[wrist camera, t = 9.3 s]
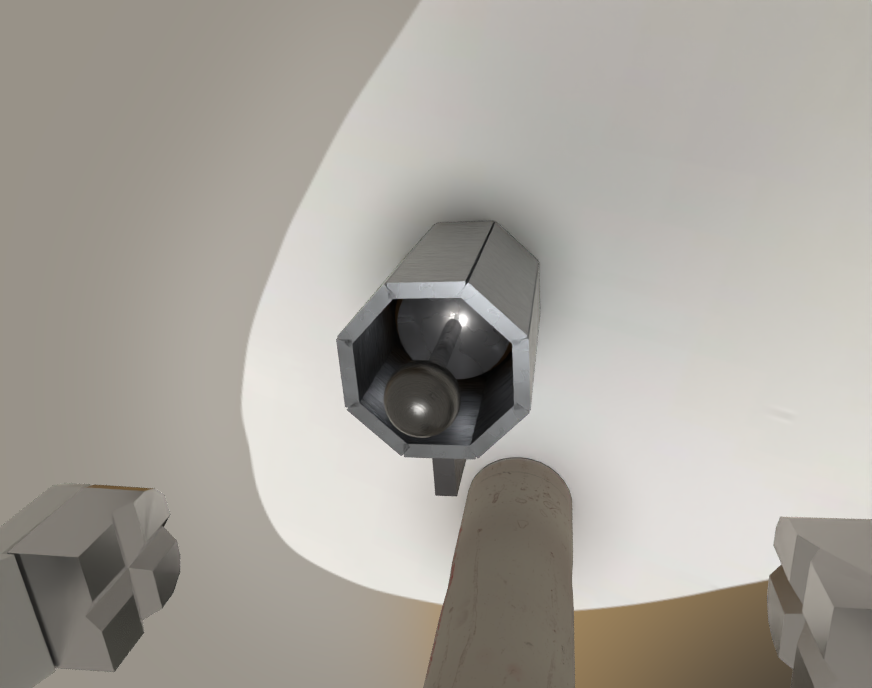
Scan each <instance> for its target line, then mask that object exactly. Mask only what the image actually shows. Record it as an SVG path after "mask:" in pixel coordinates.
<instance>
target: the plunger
mask: <svg viewBox="0 0 872 688" xmlns="http://www.w3.org/2000/svg"><path fill="white" fill-rule="evenodd" d="M397 321H398V332H399V336H400V340H401V342H402V345H403V347H404V349H405V350H406V352H407V353H408V355H409V356H410V357H411V358H412V360H413V361H411V362H408V363H406V364H404V365H402V366H401V367H399V368H398V369H397V370H396V371H394V373H393V374H392V375H391V376H390V378H389V380H388V382H387V384H386V386H385V390H384V397H383V400H384V407H385V411H386V414H387V416H388V418H389V419H390V421H391V422H392V424H393V425H394V426H395V427H396V428H397V429H398V430H400V431H401V432H403V433H405V434H407V435H409V436H413V437H418V438H426V437H432V436H435V435H438V434H440V433H442V432H443V431H445V430H446V429H447V428H449V427H450V425H451V424H452V423H453V422H454V421H455V419H456V417H457V415H458V413H459V410H460V406H461V391H460V387H459V384H458V382H457V380H456V379H466V378H472V377H475V376H478V375H480V374H482V373H484V372H486V371H488V370H489V369H491V368H492V367H493V366H494V365H496V363H497V362H498V361H499V360H500V359H501V358H502V356H503V355H504V353H505V351H506V349H507V347H508V344H509V340H507V339H506V338H505V337H504V336H503V335H502V334H501V333H500V332H499V331H497V330H496V329H495V328H494V327H493V326H492V325H491V324H490V323H489V322H487V321H486V320H485V319H484V318H483V317H482V316H481V315H480V314H479V313H477V312H476V311H475V310H474V309H473V308H472V307H471V306H470V305H469V304H467V303H466V302H465V301H464V300H463V299H462V298H409V299H403V300H402V303H401V305H400V308H399V312H398V320H397Z"/></svg>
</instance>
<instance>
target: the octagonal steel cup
mask: <svg viewBox="0 0 872 688" xmlns="http://www.w3.org/2000/svg"><path fill="white" fill-rule="evenodd" d="M409 298H462V299H463V300H464V301H465V302H466V303H467V304H469V305H470V306H471V307H472V308H473V309H474V310H475V311H476V312H477V313H479V314H480V315H481V316H482V317H483V318H484V319H485V320H486V321H487V322H489V323H490V324H491V325H492V326H493V327H494V328H495V329H496V330H497V331H499V332H500V333H501V334H502V335H503V336H504V337H505V338H506V339H507V340H509V344H508V347H507V349H506V351H505V353H504V355H503V356H502V358H501V359H500V360H499V361H498V362H497V363H496V365H494V366H493V367H492V368H491V369H489V370H488V371H486V372H484V373H482V374H480V375H478V376H475V377H472V378H466V379H456V380H457V382H458V384H459V387H460V391H461V406H460V410H459V413H458V415H457V417H456V419H455V421H454V422H453V423H452V424H451V425H450V427H449V428H447V429H446V430H445V431H443V432H442V433H440V434H438V435H435V436H432V437H426V438H418V437H413V436H409V435H407V434H405V433H403V432H401V431H400V430H398V429H397V428H396V427H395V426H394V425H393V424H392V422H391V421H390V419H389V418H388V416H387V414H386V411H385V407H384V400H383V397H384V390H385V386H386V384H387V382H388V380H389V378H390V376H391V375H392V374H393V373H394V371H396V370H397V369H398V368H399V367H401V366H402V365H404V364H406V363H408V362H411V361H413V360H412V358H411V357H410V356H409V355H408V353H407V352H406V350H405V349H404V347H403V345H402V342H401V340H400V336H399V332H398V321H397V320H398V312H399V308H400V305H401V303H402V300H403V299H409ZM539 322H540V284H539V263H538V260H537V259H536V258H535V257H534V256H533V255H532V254H531V253H530V252H528V251H527V250H526V249H525V248H524V247H523V246H522V245H521V244H520V243H519V242H518V241H517V240H515V239H514V238H513V237H512V236H511V235H510V234H509V233H508V232H507V231H506V230H505V229H504V228H502V227H501V226H500V225H499V224H498V223H497V222H495V223H494V221H473V222H445V223H436V224H434V225H433V226H432V228H431V229H430V230H429V231H428V232H427V233H426V234H425V235H424V237H423V238H422V239H421V240H420V241H419V242H418V243H417V244H416V246H415V247H414V248H413V249H412V250H411V251H410V252H409V253H408V255H407V256H406V257H405V258H404V259H403V260H402V261H401V263H400V264H399V265H398V266H397V267H396V268H395V270H394V271H393V272H392V273H391V274H390V275H389V277H388V278H387V279H386V280H385V281H384V282H383V284H382V285H381V286H380V287H379V288H378V289H377V291H376V292H375V293H374V294H373V295H372V296H371V298H370V299H369V300H368V301H367V302H366V303H365V305H364V306H363V307H362V308H361V309H360V310H359V312H358V313H357V314H356V315H355V316H354V317H353V319H352V320H351V321H350V322H349V323H348V325H347V326H346V327H345V328H344V329H343V330H342V332H341V333H340V334H339V335H338V336H337V337H338V338H337V339H336V341H337V349H338V356H339V364H340V371H341V379H342V386H343V394H344V402H345V407H348V409H347V410H348V411H349V412H350V413H351V414H352V415H353V416H355V417H356V418H357V419H358V420H359V421H360V422H362V423H363V424H364V425H365V426H366V427H368V428H369V429H370V430H371V431H372V432H373V433H375V434H376V435H377V436H378V437H379V438H381V439H382V440H383V441H384V442H385V443H386V444H388V445H389V446H390V447H391V448H392V449H394V450H395V451H396V452H397V453H398V454H399V455H401V456H402V455H403V454H404V457H416V458H432V459H433V471H434V483H435V495H438V496H457V494H458V490H459V486H460V482H461V478H462V474H463V470H464V466H465V462H466V459H476V457H477V458H479V457H480V456H481V455H482V454H484V453H485V452H486V451H487V450H488V449H489V448H490V447H491V446H493V445H494V444H495V443H496V442H497V441H498V440H499V439H501V438H502V437H503V436H504V435H505V434H506V433H507V432H508V431H510V430H511V429H512V428H513V427H514V426H515V425H516V424H517V423H519V422H520V421H521V420H522V419H523V418H524V417H525V416H526V415H528V414H529V411H530V410H531V400H532V390H533V381H534V371H535V361H536V351H537V341H538V332H539Z"/></svg>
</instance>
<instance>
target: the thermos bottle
mask: <svg viewBox="0 0 872 688" xmlns="http://www.w3.org/2000/svg"><path fill="white" fill-rule="evenodd" d="M572 567H573V532H572V499H571V495H570V492H569V489H568V487H567V486H566V484H565V482H564V481H563V480H562V478H561V477H560V476H559V475H558V474H557V473H556V472H554V471H553V470H552V469H551V468H549V467H547V466H546V465H544V464H542V463H539V462H536V461H534V460H530V459H524V458H508V459H503V460H499V461H496V462H494V463H491V464H490V465H488V466H486V467H485V468H483V469H482V470H481V471H480V472H479V473H478V474H477V475H476V477H475V478H474V480H473V481H472V483H471V486H470V488H469V491H468V496H467V500H466V504H465V509H464V513H463V517H462V522H461V526H460V530H459V535H458V539H457V543H456V548H455V552H454V557H453V561H452V567H451V573H450V579H449V585H448V589H447V593H446V596H445V600H444V603H443V606H442V610H441V614H440V618H439V622H438V626H437V631H436V635H435V639H434V644H433V648H432V653H431V657H430V661H429V666H428V670H427V674H426V679H425V683H424V687H423V688H575V661H574V607H573V590H572Z"/></svg>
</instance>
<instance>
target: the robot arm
mask: <svg viewBox="0 0 872 688" xmlns="http://www.w3.org/2000/svg"><path fill="white" fill-rule="evenodd" d="M169 516H170V511H169V508H168V505H167V501H166V498H165V495H164V494H163V493H161V492H160V491H158V490H156V489H155V488H140V487H126V486H110V485H90V484H75V483H63V484H57V485H52V486H51V487H50V488H48V489H47V490H46V491H45V492H43V493H42V494H41V495H40V496H38V497H37V498H36V499H35V500H33V501H32V502H31V503H30V504H28V505H27V506H26V507H25V508H23V509H22V510H21V511H20V512H19V513H17V514H16V515H15V516H13V517H12V518H11V519H10V520H8V521H7V522H6V523H4V524H3V525H2V526H1V527H0V688H33V687H34V686H35V685H37V684H38V683H40V682H41V681H42V680H44V679H45V678H47V677H48V676H50V675H51V674H53V673H54V672H55V668H61V669H75V670H90V671H105V672H115V671H116V669H117V668H118V667H119V665H120V664H121V663H122V661H123V660H124V659H125V657H126V656H127V655H128V653H129V652H130V651H131V649H132V648H133V647H134V646H135V644H136V643H137V642H138V640H139V639H140V638H141V636H142V635H143V634H144V627H143V620H144V619H145V618H147V617H149V616H150V615H152V614H154V613H155V612H157V611H159V610H160V609H162V608H163V607H164V605H165V604H166V602H167V601H168V600H169V598H170V597H171V596H172V594H173V592H174V590H175V587H176V584H177V580H178V577H179V574H180V552H179V547H178V543H177V540H176V539H175V538H174V537H173V536H172V535H171V534H170V533H169V532H168V531H167V530H166V529H165V528H164V526H165V524H166V522H167V520H168V518H169ZM774 548H775V550H776V552H777V555H778V557H779V559H780V562H781V564H782V565H780V566H779V567H778V568H777V569H776V570H775V571H774V572H773V573H772V574H771V575H769V585H768V595H767V603H768V620H769V626H770V630H771V635H772V640H773V642H774V645H775V648H776V651H777V654H778V657H779V658H780V659H781V660H782V661H784V662H785V663H786V664H787V665H788V666H790V667H791V668H792V669H793V674H792V681H791V688H872V519H845V518H811V517H780V519H779V521H778V524H777V526H776V531H775V538H774Z"/></svg>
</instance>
